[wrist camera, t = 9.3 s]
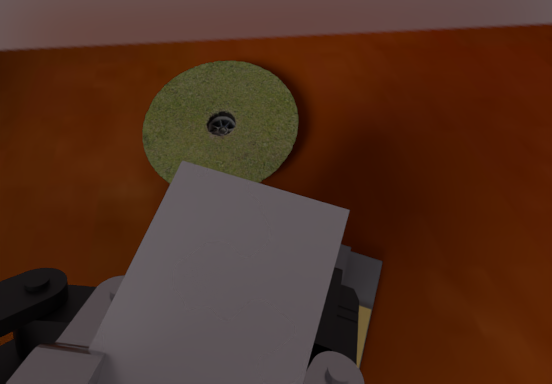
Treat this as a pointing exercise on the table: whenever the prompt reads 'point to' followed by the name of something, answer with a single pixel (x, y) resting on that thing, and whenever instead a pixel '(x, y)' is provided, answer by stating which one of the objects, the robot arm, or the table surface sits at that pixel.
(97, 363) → the robot arm
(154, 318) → the tall grey rectangular box
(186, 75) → the green round disc
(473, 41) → the table surface
